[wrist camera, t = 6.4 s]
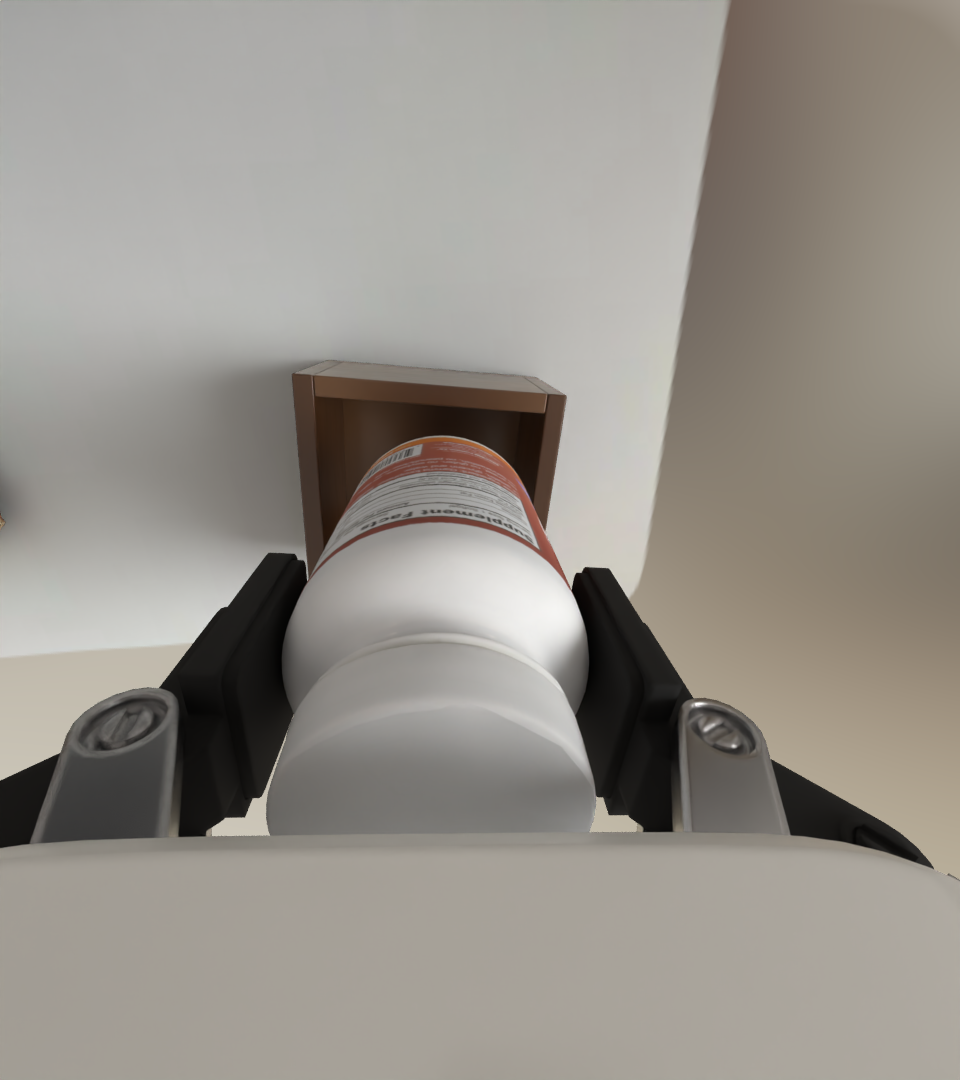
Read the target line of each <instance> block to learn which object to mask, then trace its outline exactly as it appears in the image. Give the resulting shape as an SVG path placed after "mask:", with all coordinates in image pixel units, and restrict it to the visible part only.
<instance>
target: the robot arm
mask: <svg viewBox="0 0 960 1080" xmlns="http://www.w3.org/2000/svg"><path fill="white" fill-rule="evenodd" d="M306 583H307V574H306V565H305V562H304V561H303V560H297V556H296V555H295V554H286V553H268V554H267V555H266V556H265V558H264V559H263V560H262V562H261V563H260V564H259V566H258V567H257V568H256V570H255V571H254V572H253V574H252V575H251V576H250V578H249V579H248V580H247V582H246V583H245V585H244V586H243V587H242V589H241V590H240V591H239V593H238V594H237V595H236V597H235V598H234V599H233V601H232V602H231V603H230V605H229V606H228V607H224V608H221V609H220V610H219V611H218V612H217V613H216V614H215V616H214V617H213V618H212V620H211V621H210V622H209V623H208V625H207V626H206V627H205V629H204V630H203V631H202V633H201V634H200V635H199V636H198V638H197V639H196V640H195V642H194V643H193V644H192V646H191V647H190V648H189V650H188V651H187V652H186V653H185V655H184V656H183V657H182V659H181V660H180V661H179V663H178V664H177V665H176V666H175V668H174V669H173V671H172V672H171V673H170V675H169V676H168V677H167V678H166V680H165V681H164V682H163V683H162V685H161V686H160V687H159V688H149V687H147V688H139V689H132V690H129V691H126V692H122V693H119V694H116V695H113V696H111V697H109V698H107V699H105V700H103V701H101V702H99V703H97V704H96V705H94V706H93V707H91V708H90V709H88V710H87V711H85V712H84V713H83V714H82V715H81V716H80V717H79V718H78V719H77V720H76V721H75V722H74V723H73V725H72V726H71V728H70V730H69V732H68V733H67V736H66V738H65V741H64V744H63V747H62V750H61V753H59V754H57V755H55V756H53V757H51V758H49V759H46V760H44V761H42V762H40V763H37V764H35V765H33V766H31V767H29V768H27V769H25V770H22V771H20V772H18V773H16V774H14V775H12V776H9V777H7V778H5V779H3V780H1V781H0V1080H960V880H959V879H957V878H956V877H954V876H952V875H950V874H948V875H945V874H943V873H941V872H938V871H936V870H934V868H933V866H932V865H931V863H930V862H929V861H928V859H927V858H926V857H925V856H924V855H923V854H922V853H921V851H920V850H919V849H918V848H917V847H916V846H915V845H914V844H913V843H911V842H910V841H909V840H908V839H907V838H905V837H904V836H903V835H902V834H901V833H899V832H898V831H896V830H895V829H893V828H892V827H890V826H889V825H887V824H886V823H884V822H882V821H881V820H879V819H877V818H875V817H873V816H872V815H870V814H868V813H866V812H864V811H863V810H861V809H859V808H857V807H856V806H854V805H852V804H850V803H848V802H847V801H845V800H843V799H841V798H839V797H838V796H836V795H834V794H832V793H830V792H829V791H827V790H825V789H823V788H822V787H820V786H818V785H816V784H814V783H813V782H811V781H809V780H807V779H805V778H804V777H802V776H800V775H798V774H797V773H795V772H793V771H791V770H789V769H788V768H786V767H784V766H782V765H780V764H779V763H777V762H775V761H773V760H772V759H770V755H769V752H768V748H767V744H766V741H765V739H764V737H763V734H762V732H761V731H760V729H759V728H758V727H757V726H756V725H755V723H754V722H753V721H752V720H751V719H749V718H748V717H747V716H746V715H744V714H743V713H742V712H740V711H739V710H737V709H735V708H733V707H732V706H730V705H727V704H725V703H722V702H719V701H717V700H712V699H707V698H693V697H692V695H691V694H690V692H689V691H688V689H687V688H686V686H685V684H684V683H683V681H682V679H681V678H680V676H679V675H678V673H677V672H676V670H675V668H674V667H673V665H672V664H671V662H670V660H669V659H668V658H667V656H666V654H665V653H664V651H663V649H662V648H661V646H660V645H659V643H658V642H657V640H656V639H655V637H654V635H653V634H652V632H651V631H650V629H649V627H648V626H647V625H646V624H645V623H643V622H642V620H641V619H640V617H639V616H638V614H637V612H636V611H635V609H634V608H633V606H632V604H631V603H630V601H629V600H628V598H627V596H626V595H625V593H624V592H623V590H622V588H621V587H620V585H619V584H618V582H617V580H616V579H615V577H614V576H613V574H612V572H611V571H610V570H609V569H608V568H590V567H585V568H584V569H583V571H582V573H576V574H575V577H574V581H573V586H572V593H573V595H574V597H575V600H576V602H577V605H578V608H579V611H580V613H581V616H582V619H583V622H584V625H585V629H586V633H587V640H588V650H589V671H588V680H587V685H586V690H585V693H584V696H583V699H582V701H581V704H580V706H579V709H578V711H577V713H576V715H575V717H576V720H577V723H578V727H579V730H580V732H581V735H582V739H583V742H584V746H585V749H586V753H587V757H588V760H589V764H590V767H591V771H592V775H593V778H594V784H595V792H596V796H597V797H603V798H604V801H605V804H606V807H607V811H608V814H609V815H629V817H630V818H631V819H633V820H634V821H636V822H637V823H638V824H637V832H600V833H599V832H598V833H597V832H591V833H590V832H566V833H433V834H342V835H276V836H217V837H216V836H212V829H211V828H212V827H213V826H215V825H216V824H218V823H219V822H221V821H222V820H223V819H224V818H230V817H231V818H232V817H245V816H246V813H247V811H248V808H249V806H250V803H251V801H252V798H260V797H261V796H262V795H263V793H264V790H265V788H266V785H267V783H268V780H269V777H270V774H271V772H272V770H273V767H274V764H275V762H276V759H277V757H278V754H279V751H280V749H281V746H282V744H283V741H284V738H285V735H286V733H287V730H288V728H289V725H290V723H291V720H292V717H293V715H294V713H293V711H292V708H291V706H290V703H289V701H288V698H287V695H286V692H285V688H284V683H283V676H282V648H283V642H284V637H285V633H286V629H287V626H288V623H289V620H290V618H291V615H292V613H293V611H294V609H295V606H296V604H297V601H298V599H299V597H300V595H301V593H302V591H303V588H304V587H305V585H306Z"/></svg>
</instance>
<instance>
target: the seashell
mask: <svg viewBox="0 0 960 1080" xmlns="http://www.w3.org/2000/svg"><path fill="white" fill-rule="evenodd" d="M4 524H5V521H4V520H3V519H2V517H1V513H0V530H1V527H2V526H3V525H4Z"/></svg>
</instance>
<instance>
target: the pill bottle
mask: <svg viewBox="0 0 960 1080" xmlns="http://www.w3.org/2000/svg"><path fill="white" fill-rule="evenodd" d="M588 671H589V650H588V640H587V633H586V629H585V625H584V622H583V619H582V616H581V613H580V611H579V608H578V605H577V602H576V600H575V597H574V595H573V593H572V590H571V588H570V586H569V584H568V581H567V579H566V577H565V575H564V573H563V570H562V568H561V566H560V564H559V562H558V559H557V557H556V555H555V553H554V551H553V548H552V546H551V544H550V542H549V540H548V537H547V536H546V533H545V531H544V529H543V527H542V525H541V522H540V520H539V518H538V516H537V513H536V511H535V509H534V507H533V505H532V502H531V500H530V497H529V495H528V493H527V491H526V489H525V487H524V485H523V483H522V481H521V480H520V478H519V476H518V475H517V473H516V472H515V471H514V469H513V468H512V467H511V466H510V465H509V464H508V463H507V462H506V461H505V460H504V459H503V458H502V457H501V456H500V455H498V454H497V453H496V452H494V451H493V450H491V449H489V448H488V447H486V446H484V445H482V444H479V443H477V442H474V441H472V440H468V439H465V438H460V437H455V436H428V437H423V438H418V439H414V440H411V441H408V442H406V443H403V444H401V445H399V446H397V447H395V448H393V449H392V450H390V451H389V452H387V453H386V454H384V455H383V456H382V457H381V458H379V459H378V460H377V461H376V462H375V463H374V464H373V465H372V466H371V468H370V469H369V470H368V472H367V473H366V474H365V475H364V477H363V479H362V480H361V482H360V483H359V485H358V487H357V489H356V491H355V493H354V494H353V496H352V498H351V500H350V502H349V504H348V506H347V507H346V509H345V511H344V513H343V515H342V517H341V519H340V521H339V522H338V524H337V526H336V528H335V530H334V532H333V534H332V536H331V538H330V539H329V541H328V543H327V545H326V547H325V550H324V551H323V553H322V555H321V556H320V558H319V561H318V562H317V564H316V566H315V568H314V570H313V572H312V574H311V576H310V578H309V580H308V581H307V583H306V585H305V587H304V588H303V591H302V593H301V595H300V597H299V599H298V601H297V604H296V606H295V609H294V611H293V613H292V615H291V618H290V620H289V623H288V626H287V629H286V633H285V637H284V642H283V648H282V676H283V683H284V688H285V692H286V695H287V698H288V701H289V703H290V706H291V708H292V711H293V713H294V717H293V719H292V721H291V723H290V726H289V729H288V732H287V736H286V741H285V743H284V746H283V749H282V752H281V755H280V758H279V760H278V763H277V766H276V769H275V772H274V775H273V779H272V781H271V785H270V788H269V791H268V797H267V804H266V807H267V808H266V810H267V811H266V816H267V817H266V819H267V825H268V830H269V833H270V836H276V835H342V834H433V833H566V832H589V831H590V828H591V825H592V823H593V820H594V815H595V808H596V792H595V784H594V778H593V775H592V771H591V767H590V764H589V760H588V757H587V753H586V749H585V746H584V742H583V739H582V735H581V732H580V730H579V727H578V723H577V720H576V717H575V715H576V713H577V711H578V709H579V706H580V704H581V701H582V699H583V696H584V693H585V690H586V685H587V680H588Z"/></svg>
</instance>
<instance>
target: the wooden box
mask: <svg viewBox="0 0 960 1080" xmlns="http://www.w3.org/2000/svg"><path fill="white" fill-rule="evenodd" d="M292 384H293V396H294V408H295V420H296V432H297V445H298V457H299V469H300V481H301V493H302V505H303V517H304V529H305V541H306V553H307V565H308V577H309V578H310V576H311V574H312V572H313V570H314V568H315V566H316V564H317V562H318V561H319V558H320V556H321V555H322V553H323V551H324V550H325V547H326V545H327V543H328V541H329V539H330V538H331V536H332V534H333V532H334V530H335V528H336V526H337V524H338V522H339V521H340V519H341V517H342V515H343V513H344V511H345V509H346V507H347V506H348V504H349V502H350V500H351V498H352V496H353V494H354V493H355V491H356V489H357V487H358V485H359V483H360V482H361V480H362V479H363V477H364V475H365V474H366V473H367V472H368V470H369V469H370V468H371V466H372V465H373V464H374V463H375V462H376V461H377V460H378V459H379V458H381V457H382V456H383V455H384V454H386V453H387V452H389V451H390V450H392V449H393V448H395V447H397V446H399V445H401V444H403V443H406V442H408V441H411V440H414V439H418V438H423V437H428V436H455V437H460V438H465V439H468V440H472V441H474V442H477V443H479V444H482V445H484V446H486V447H488V448H489V449H491V450H493V451H494V452H496V453H497V454H498V455H500V456H501V457H502V458H503V459H504V460H505V461H506V462H507V463H508V464H509V465H510V466H511V467H512V468H513V469H514V471H515V472H516V473H517V475H518V476H519V478H520V480H521V481H522V483H523V485H524V487H525V489H526V491H527V493H528V495H529V497H530V500H531V502H532V505H533V507H534V509H535V511H536V513H537V516H538V518H539V520H540V522H541V525H542V527H543V529H544V531H545V530H546V524H547V518H548V511H549V505H550V499H551V493H552V486H553V480H554V474H555V468H556V461H557V455H558V449H559V443H560V437H561V430H562V424H563V418H564V412H565V405H566V399H567V396H566V395H565V394H563V393H561V392H560V391H558V390H556V389H555V388H553V387H551V386H550V385H548V384H546V383H545V382H543V381H541V380H540V379H538V378H537V377H527V376H515V375H503V374H491V373H479V372H467V371H455V370H443V369H431V368H419V367H407V366H395V365H383V364H371V363H359V362H347V361H335V360H327V361H325V362H322V363H320V364H317V365H314V366H312V367H309V368H306V369H304V370H301V371H298V372H296V373H293V374H292Z"/></svg>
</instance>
